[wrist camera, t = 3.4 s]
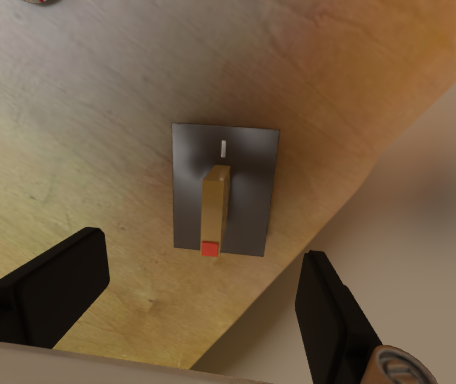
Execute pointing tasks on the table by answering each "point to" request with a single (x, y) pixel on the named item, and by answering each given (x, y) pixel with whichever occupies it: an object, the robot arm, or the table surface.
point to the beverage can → (35, 1)
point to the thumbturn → (214, 210)
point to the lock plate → (238, 189)
